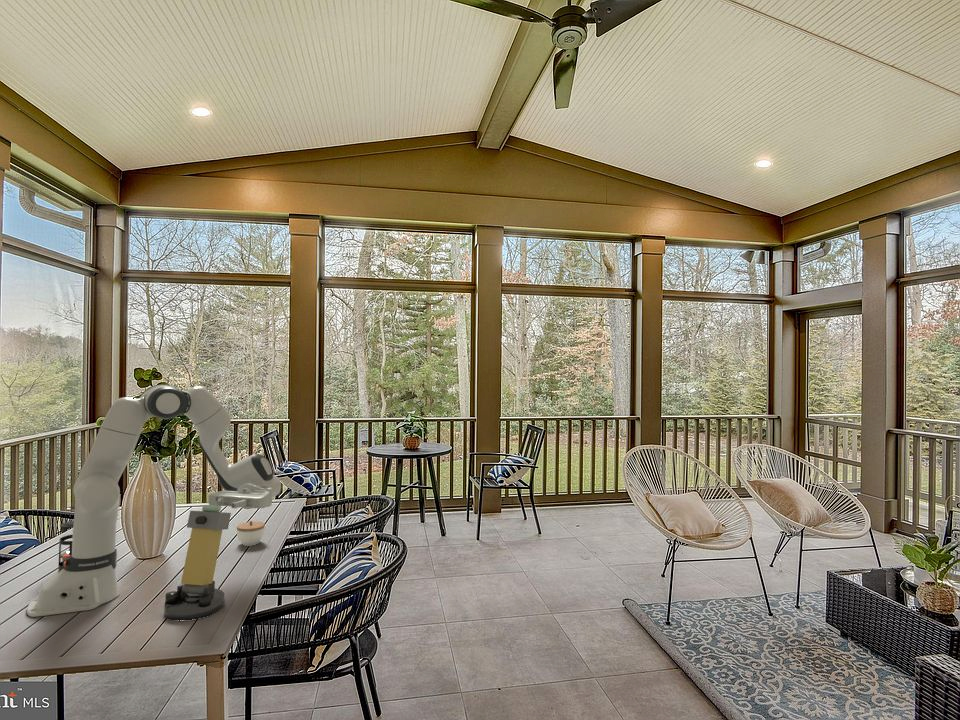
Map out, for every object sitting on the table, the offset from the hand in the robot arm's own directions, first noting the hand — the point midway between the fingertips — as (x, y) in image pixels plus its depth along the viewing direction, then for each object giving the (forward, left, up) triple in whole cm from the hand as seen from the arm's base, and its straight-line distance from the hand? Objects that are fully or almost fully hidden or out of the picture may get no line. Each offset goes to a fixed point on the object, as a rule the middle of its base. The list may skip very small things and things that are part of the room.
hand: (225, 505), depth 173 cm
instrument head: (-10, -11, -23) cm, 27 cm away
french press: (-41, +44, -28) cm, 67 cm away
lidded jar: (+17, +44, -28) cm, 55 cm away
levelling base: (-9, -10, -28) cm, 31 cm away
